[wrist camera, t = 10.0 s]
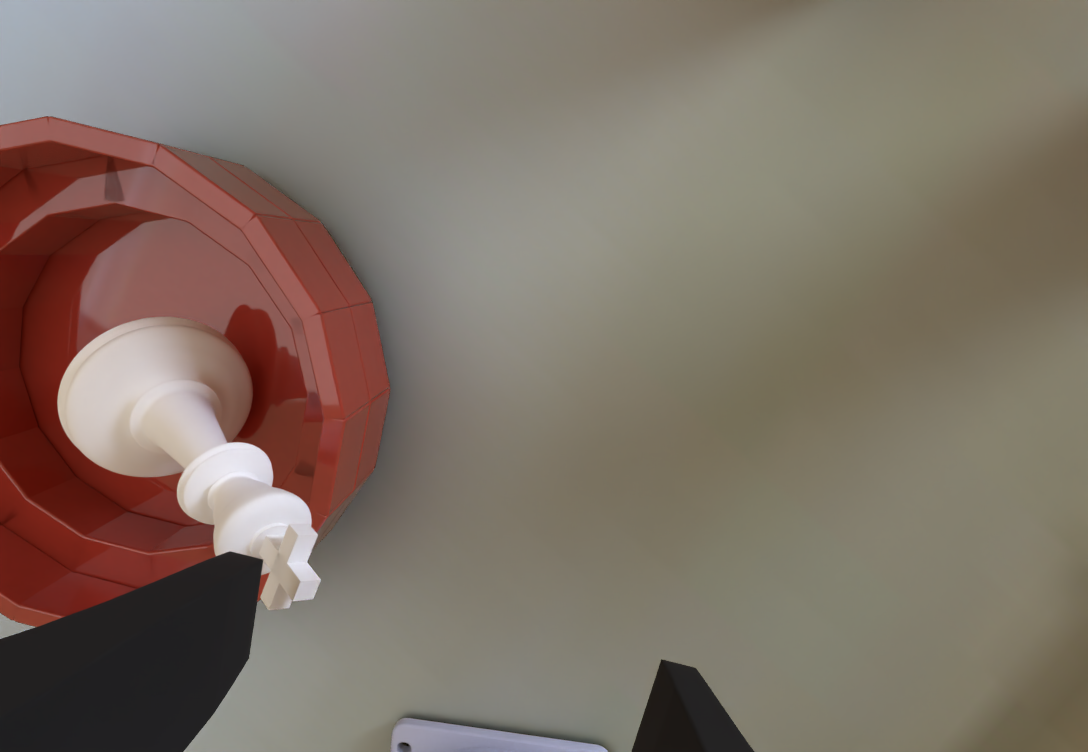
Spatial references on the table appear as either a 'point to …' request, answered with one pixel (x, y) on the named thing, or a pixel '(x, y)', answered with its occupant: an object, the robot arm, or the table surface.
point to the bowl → (163, 291)
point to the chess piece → (189, 439)
